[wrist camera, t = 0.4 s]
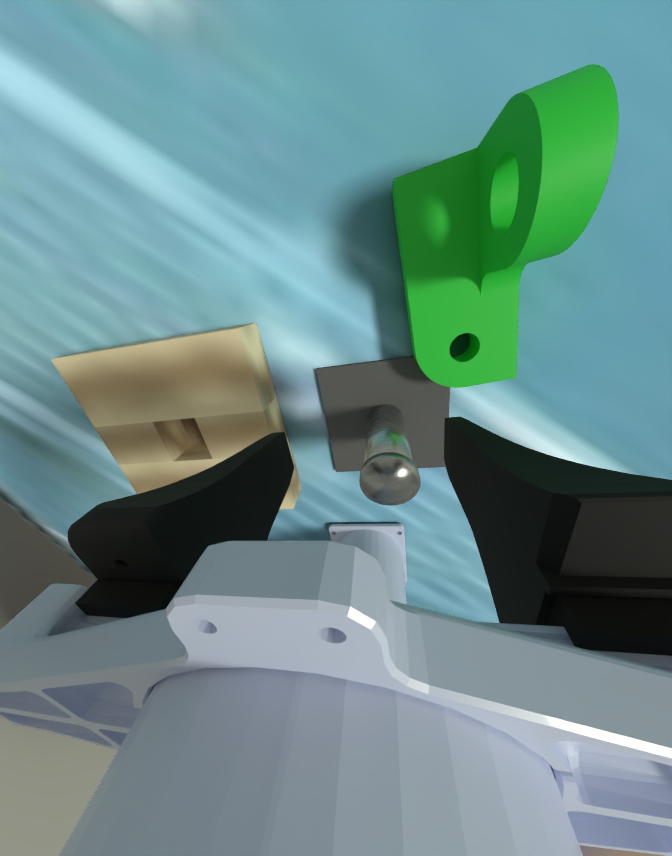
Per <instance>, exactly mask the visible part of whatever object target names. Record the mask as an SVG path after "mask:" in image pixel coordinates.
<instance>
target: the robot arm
mask: <svg viewBox="0 0 672 856" xmlns="http://www.w3.org/2000/svg"><path fill="white" fill-rule="evenodd" d="M444 461H445V465H446V469H447V472H448V476H449V479H450V481H451V483H452V485H453V488H454V490H455V492H456V494H457V497H458V499H459V501H460V503H461V505H462V508H463V510H464V512H465V514H466V517H467V519H468V521H469V524H470V526H471V529H472V531H473V534H474V537H475V540H476V544H477V547H478V550H479V553H480V556H481V559H482V563H483V566H484V569H485V573H486V576H487V579H488V583H489V586H490V590H491V593H492V597H493V600H494V604H495V608H496V611H497V615H498V619H499V622H500V623H488V622H475V621H471V620H467V619H463V618H459V617H455V616H451V615H447V614H443V613H439V612H435V611H431V610H427V609H423V608H419V607H415V606H411V605H407V603H406V592H405V583H406V582H407V570H406V553H405V536H404V526H403V525H402V524H331V525H330V526H329V533H330V537H331V541H267V539H268V536H269V532H270V530H271V527H272V525H273V522H274V520H275V518H276V515H277V513H278V511H279V509H280V506H281V504H282V502H283V500H284V497H285V495H286V493H287V490H288V488H289V486H290V483H291V479H292V475H293V471H294V464H293V460H292V457H291V453H290V449H289V446H288V442H287V439H286V435H285V432H275V433H271V434H268V435H266V436H265V437H263V438H261V439H259V440H258V441H256V442H254V443H253V444H251V445H249V446H248V447H246V448H244V449H243V450H241V451H239V452H238V453H236V454H234V455H232V456H231V457H229V458H227V459H225V460H224V461H222V462H220V463H218V464H216V465H214V466H212V467H210V468H208V469H206V470H204V471H201V472H199V473H197V474H195V475H192V476H190V477H187V478H184V479H182V480H179V481H177V482H174V483H172V484H169V485H166V486H163V487H160V488H157V489H153V490H150V491H147V492H143V493H140V494H136V495H132V496H128V497H124V498H120V499H116V500H112V501H108V502H104V503H101V504H99V505H97V506H96V507H94V508H93V509H92V510H90V511H89V512H88V513H86V514H85V515H84V516H83V517H81V518H80V519H79V520H77V521H76V522H75V523H73V524H72V525H71V526H70V528H69V530H68V541H69V544H70V546H71V548H72V549H73V551H74V552H75V553H76V555H77V556H78V557H79V558H80V559H81V560H82V562H83V563H84V564H85V565H86V566H87V567H88V568H89V570H90V571H91V572H92V573H93V574H94V575H95V577H96V578H97V579H98V580H97V581H96V582H95V583H94V584H93V585H92V586H91V587H90V588H87V587H85V586H83V585H78V584H51V585H50V586H49V587H48V588H47V589H46V590H44V591H43V592H42V593H41V594H40V595H39V596H38V597H37V598H36V599H34V600H33V601H32V602H31V603H30V604H29V605H28V606H27V607H26V608H25V609H23V610H22V611H21V612H20V613H19V614H18V615H17V616H16V617H14V619H12V620H11V621H10V622H9V623H8V624H7V625H6V626H5V627H3V628H2V629H1V630H0V717H1V718H3V719H5V720H7V721H8V722H10V723H12V724H14V725H17V726H23V727H27V728H32V729H37V730H42V731H47V732H51V733H55V734H59V735H63V736H67V737H71V738H75V739H79V740H82V741H86V742H90V743H94V744H97V745H101V746H104V747H108V748H111V749H116V750H118V752H117V754H116V755H115V757H114V759H113V761H112V762H111V764H110V766H109V768H108V770H107V771H106V773H105V775H104V777H103V778H102V780H101V782H100V784H99V786H98V787H97V789H96V791H95V793H94V795H93V796H92V798H91V800H90V802H89V804H88V805H87V807H86V809H85V810H84V812H83V814H82V816H81V818H80V820H79V821H78V823H77V825H76V827H75V828H74V830H73V832H72V834H71V835H70V837H69V839H68V841H67V843H66V844H65V846H64V848H63V850H62V851H61V853H60V855H59V856H583V854H582V852H581V849H580V846H579V845H584V846H592V847H600V848H609V849H617V850H625V851H633V852H641V853H650V854H658V855H666V856H672V480H668V479H661V478H654V477H647V476H641V475H634V474H628V473H622V472H617V471H612V470H607V469H602V468H597V467H592V466H588V465H583V464H579V463H575V462H572V461H568V460H564V459H560V458H557V457H553V456H550V455H547V454H544V453H541V452H538V451H535V450H532V449H529V448H526V447H524V446H521V445H519V444H516V443H514V442H511V441H509V440H507V439H505V438H502V437H500V436H498V435H496V434H494V433H492V432H490V431H488V430H486V429H484V428H482V427H480V426H478V425H476V424H474V423H473V422H471V421H469V420H467V419H465V418H462V417H451V418H445V423H444ZM399 531H400V532H399Z"/></svg>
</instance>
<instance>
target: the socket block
mask: <svg viewBox="0 0 672 856" xmlns="http://www.w3.org/2000/svg"><path fill="white" fill-rule="evenodd" d="M51 360H52V362H53V363H54V365H55V366H56V368H57V370H58V371H59V373H60V374H61V376H62V377H63V379H64V380H65V382H66V384H67V385H68V387H69V388H70V390H71V391H72V393H73V395H74V396H75V398H76V399H77V401H78V402H79V404H80V405H81V407H82V409H83V410H84V412H85V413H86V415H87V416H88V418H89V419H90V421H91V423H92V424H93V426H94V427H95V429H96V430H97V432H98V434H99V435H100V437H101V438H102V440H103V441H104V443H105V444H106V446H107V448H108V449H109V451H110V452H111V454H112V455H113V457H114V458H115V460H116V462H117V463H118V465H119V466H120V468H121V469H122V471H123V473H124V474H125V476H126V477H127V479H128V480H129V482H130V483H131V485H132V487H133V488H134V490H135V491H136V493H137V494H140V493H143V492H147V491H150V490H153V489H157V488H160V487H163V486H166V485H169V484H172V483H174V482H177V481H179V480H182V479H184V478H187V477H190V476H192V475H195V474H197V473H199V472H201V471H204V470H206V469H208V468H210V467H212V466H214V465H216V464H218V463H220V462H222V461H224V460H225V459H227V458H229V457H231V456H232V455H234V454H236V453H238V452H239V451H241V450H243V449H244V448H246V447H248V446H249V445H251V444H253V443H254V442H256V441H258V440H259V439H261V438H263V437H265V436H266V435H268V434H271V433H275V432H285V435H286V439H287V442H288V446H289V449H290V453H291V457H292V460H293V464H294V471H293V475H292V479H291V483H290V486H289V488H288V490H287V493H286V495H285V497H284V500H283V502H282V504H281V506H280V509H294V506H295V504H296V501H297V498H298V496H299V493H300V490H301V488H302V487H301V484H300V480H299V476H298V473H297V469H296V466H295V462H294V458H293V455H292V451H291V447H290V444H289V440H288V437H287V433H286V429H285V426H284V422H283V418H282V415H281V411H280V408H279V404H278V400H277V397H276V393H275V389H274V386H273V382H272V379H271V375H270V371H269V368H268V364H267V360H266V357H265V353H264V350H263V346H262V342H261V339H260V335H259V331H258V328H257V324H256V323H253V324H247V325H241V326H235V327H229V328H223V329H217V330H211V331H205V332H199V333H193V334H187V335H181V336H175V337H169V338H163V339H157V340H151V341H145V342H139V343H133V344H127V345H121V346H115V347H109V348H103V349H97V350H91V351H86V352H81V353H77V354H72V355H68V356H63V357H59V358H54V359H51Z"/></svg>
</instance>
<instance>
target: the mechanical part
mask: <svg viewBox="0 0 672 856" xmlns="http://www.w3.org/2000/svg"><path fill="white" fill-rule="evenodd" d="M617 133H618V101H617V94H616V89H615V85H614V83H613V80H612V78H611V76H610V74H609V73H608V72H607V71H606V69H605V68H603V67H601V66H600V65H595V64H593V65H588V66H585V67H582V68H580V69H577V70H575V71H572V72H570V73H567V74H565V75H562V76H560V77H558V78H555V79H553V80H550V81H548V82H545V83H543V84H540V85H538V86H535V87H533V88H530V89H528V90H525V91H523V92H520V93H518V94H516V95H514V96H513V97H512V98H511V99H510V100H509V101H508V103H507V104H506V105H505V107H504V108H503V110H502V111H501V113H500V114H499V116H498V117H497V119H496V120H495V122H494V123H493V125H492V126H491V128H490V129H489V131H488V132H487V134H486V135H485V137H484V138H483V140H482V141H481V143H480V144H479V146H478V147H477V148H475V149H472V150H470V151H467V152H464V153H462V154H459V155H456V156H454V157H451V158H448V159H446V160H443V161H440V162H438V163H435V164H432V165H430V166H427V167H424V168H422V169H419V170H416V171H414V172H411V173H408V174H406V175H403V176H400V177H398V178H395V179H394V180H393V188H392V198H393V206H394V214H395V221H396V229H397V237H398V245H399V253H400V260H401V268H402V276H403V284H404V291H405V299H406V307H407V315H408V323H409V330H410V338H411V346H412V352H413V355H414V358H415V360H416V361H417V363H418V365H419V366H420V368H421V370H422V371H423V372H424V374H425V375H426V376H427V377H428V378H430V379H431V380H432V381H434V382H436V383H438V384H440V385H443V386H447V387H455V388H458V387H467V386H473V385H478V384H484V383H489V382H495V381H500V380H506V379H511V378H516V367H517V335H518V302H519V282H520V277H521V273H522V271H523V269H524V267H525V265H526V264H527V263H530V262H533V261H537V260H541V259H544V258H548V257H552V256H555V255H558V254H560V253H562V252H564V251H565V250H567V249H568V248H569V247H570V246H571V245H572V244H573V243H574V242H575V241H576V240H577V239H578V237H579V236H580V235H581V234H582V232H583V231H584V229H585V228H586V226H587V224H588V223H589V221H590V219H591V218H592V216H593V214H594V212H595V210H596V208H597V205H598V203H599V201H600V199H601V196H602V194H603V191H604V188H605V186H606V183H607V180H608V176H609V173H610V169H611V166H612V162H613V157H614V153H615V147H616V142H617ZM463 333H468V335H469V337H470V344H469V347H468V349H467V350H466V351H465V352H464V353H463V354H461V355H458V356H451V355H450V345H451V343H452V341H453V340H454V339H455V338H456V337H457V336H459V335H460V334H463Z"/></svg>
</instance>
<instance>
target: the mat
mask: <svg viewBox="0 0 672 856" xmlns="http://www.w3.org/2000/svg"><path fill="white" fill-rule="evenodd" d="M450 355H451V352H450ZM316 371H317V376H318V381H319V386H320V391H321V397H322V402H323V407H324V412H325V417H326V422H327V427H328V433H329V438H330V443H331V448H332V453H333V458H334V463H335V469H336V472H344V471H361V468H362V466H363V464H364V460H365V445H366V431H367V418H368V415H369V413H370V411H371V410H372V409H373V408H375V407H376V406H379V405H383V404H389V405H393V406H395V407H397V408H398V409H399V410H400V411H401V412H402V414H403V417H404V422H405V427H406V432H407V436H408V441H409V446H410V451H411V456H412V460H413V462H414V463H415V465H416V466H417V468H430V467H446V465H445V461H444V423H445V418H449V396H450V387H447V386H443V385H440V384H438V383H436V382H434V381H432V380H431V379H430V378H428V377H427V376H426V375H425V374H424V372H423V371H422V370H421V368H420V366H419V365H418V363H417V361H416V360H415V358H414V356H411V357H403V358H395V359H387V360H379V361H372V362H364V363H356V364H348V365H340V366H332V367H324V368H317V369H316Z"/></svg>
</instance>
